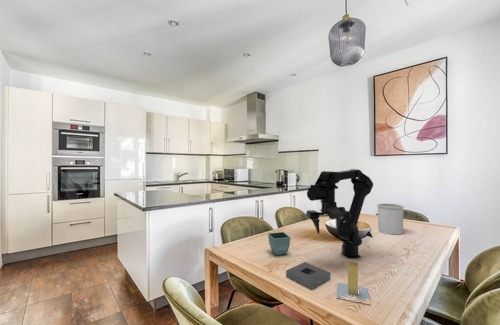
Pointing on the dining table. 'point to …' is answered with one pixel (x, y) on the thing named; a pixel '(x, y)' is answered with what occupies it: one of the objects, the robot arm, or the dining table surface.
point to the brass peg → (353, 278)
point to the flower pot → (279, 242)
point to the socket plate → (312, 279)
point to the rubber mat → (343, 291)
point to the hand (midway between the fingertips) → (328, 233)
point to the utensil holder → (390, 218)
